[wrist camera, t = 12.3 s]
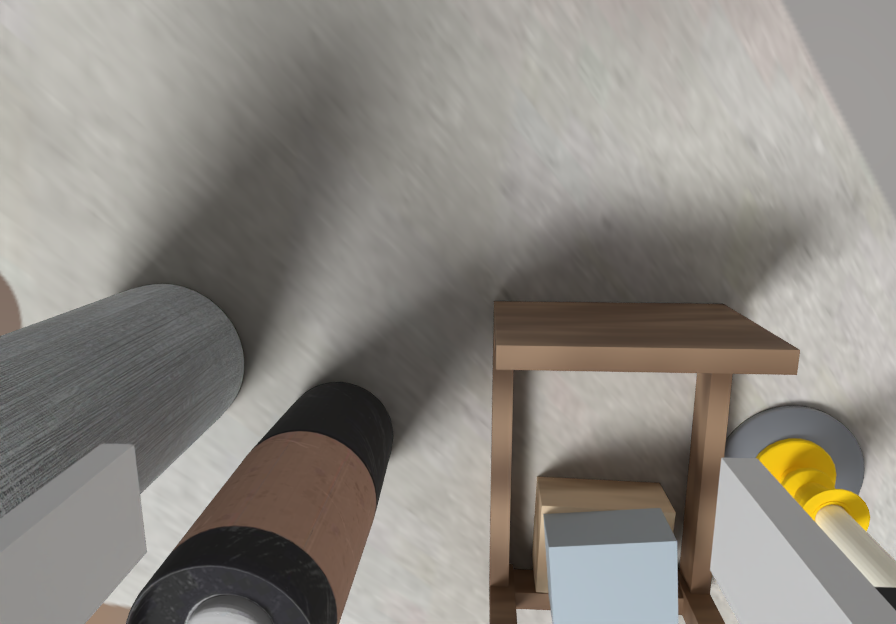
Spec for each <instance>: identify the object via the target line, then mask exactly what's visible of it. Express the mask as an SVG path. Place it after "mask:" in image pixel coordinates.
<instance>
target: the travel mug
mask: <svg viewBox="0 0 896 624" xmlns="http://www.w3.org/2000/svg"><path fill="white" fill-rule="evenodd" d="M392 442H393V429H392V424H391V420H390V417H389V415H388V413H387V411H386V409H385V408H384V406H383V405H382V404H381V402H380V401H379V400H378V399H377V398H376V397H375V396H374V395H372V394H371V393H370V392H368V391H367V390H365V389H363V388H361V387H358V386H356V385H353V384H349V383H341V382H334V383H327V384H322V385H319V386H316V387H314V388H312V389H310V390H309V391H307V392H306V393H305V394H303V395H302V396H301V397H300V398H299V399H298V400H297V401H296V402H295V403H294V404H293V405H292V406H291V407H290V408H289V409H288V410H287V412H286V413H285V414H284V415H283V416H282V417H281V418H280V419H279V420H278V421H277V423H276V424H275V425H274V426H273V427H272V428H271V429H270V430H269V431H268V433H267V434H266V435H265V436H264V437H263V438H262V439H261V440H260V441H259V442H258V444H257V445H256V446H255V447H254V448H253V449H252V450H251V452H250V453H249V454H248V455H247V456H246V458H245V459H244V460H243V461H242V463H241V464H240V465H239V467H238V468H237V469H236V470H235V472H234V473H233V474H232V475H231V477H230V478H229V479H228V481H227V482H226V483H225V484H224V486H223V487H222V488H221V490H220V491H219V492H218V493H217V495H216V496H215V497H214V499H213V500H212V501H211V502H210V504H209V505H208V506H207V507H206V509H205V510H204V511H203V513H202V514H201V515H200V516H199V518H198V519H197V520H196V522H195V523H194V524H193V525H192V527H191V528H190V529H189V531H188V532H187V533H186V534H185V536H184V537H183V538H182V539H181V541H180V542H179V543H178V545H177V546H176V547H175V548H174V550H173V551H172V552H171V554H170V555H169V556H168V557H167V559H166V560H165V561H164V562H163V564H162V565H161V566H160V568H159V569H158V570H157V571H156V573H155V574H154V575H153V577H152V578H151V579H150V580H149V582H148V583H147V584H146V585H145V587H144V588H143V589H142V591H141V592H140V593H139V595H138V596H137V598H136V600H135V602H134V604H133V605H132V607H131V610H130V612H129V616H128V619H127V622H126V624H339V622H340V619H341V616H342V613H343V610H344V607H345V604H346V601H347V598H348V595H349V592H350V589H351V586H352V583H353V580H354V577H355V574H356V571H357V568H358V565H359V562H360V559H361V556H362V553H363V550H364V547H365V544H366V541H367V538H368V535H369V532H370V529H371V526H372V523H373V519H374V516H375V512H376V509H377V505H378V501H379V497H380V493H381V489H382V485H383V481H384V477H385V473H386V469H387V465H388V461H389V457H390V453H391V449H392Z"/></svg>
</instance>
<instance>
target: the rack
mask: <svg viewBox="0 0 896 624" xmlns="http://www.w3.org/2000/svg"><path fill="white" fill-rule="evenodd" d="M799 354H800V350H799V349H797V348H796V347H794V346H793V345H791V344H789V343H788V342H786V341H784V340H783V339H781V338H779V337H778V336H776V335H774V334H773V333H771V332H769V331H768V330H766V329H764V328H763V327H761V326H759V325H758V324H756V323H754V322H753V321H751V320H749V319H748V318H746V317H744V316H743V315H741V314H739V313H738V312H736V311H734V310H733V309H731V308H729V307H728V306H726V305H725V304H693V303H607V302H521V301H494V324H493V386H492V448H491V511H490V573H489V605H490V624H517V615H516V609H536V610H551V608H550V601H549V594H548V593H542V592H536V588H535V580H534V571H533V570H524V569H513V564H509V541H510V498H511V456H512V414H513V371H514V370H551V371H609V372H666V373H697V380H696V391H695V402H694V413H693V424H692V436H691V447H690V458H689V469H688V480H687V491H686V502H685V513H684V524H683V535H682V546H681V557H680V568H679V570H678V615H682V616H683V618H684V620H685V622H686V624H725V622H724V621H723V619H722V617H721V615H720V613H719V611H718V609H717V607H716V605H715V603H714V601H713V599H712V597H711V595H710V588H711V578H712V573H711V571H710V565H711V555H712V545H713V536H714V526H715V516H716V506H717V496H718V486H719V476H720V466H721V458H724V452H725V443H726V433H727V423H728V413H729V404H730V394H731V384H732V375H733V374H781V375H797V370H798V362H799Z"/></svg>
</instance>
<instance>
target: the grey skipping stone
mask: <svg viewBox="0 0 896 624" xmlns="http://www.w3.org/2000/svg"><path fill="white" fill-rule="evenodd" d="M789 438H801V439H805V440H808V441H812V442H813V443H815V444H817V445H819V446H820V447H822V448H823V449H824V450H825V451H826V452H827V453H828V454H829V455H830V457H831V459H832V460H833V462H834V464H835V469H836V482H835V489H844V490H848V491H851V492H853V493H855V494H857V495H859V492H860V489H861V487H862V483H863V479H864V459H863V454H862V451H861V448H860V446H859V444H858V442H857V440H856V438H855V437H854V436H853V434H852V433H851V432H850V431H849V430H848V429H847V428H846V427H845V426H844V425H843V424H842V423H840V422H839V421H838V420H836V419H835V418H833V417H832V416H830V415H828V414H826V413H825V412H823V411H820V410H817V409H814V408H809V407H805V406H782V407H776V408H772V409H769V410H765V411H763V412H761V413H758V414H756V415H754V416H752V417H751V418H749V419H747V420H746V421H745V422H743V423H742V424H741V425H739V426H738V427H737V428H736V429H735V430H734V431H733V432H732V433H731V435H730V436H729V437H728V438H727V440H726V443H725V452H724V458H756V457H757V455H758V454H759V453H760V452H761V451H762V450H764V449H765V448H766V447H767V446H769V445H771V444H773V443H775V442H777V441H780V440H784V439H789Z"/></svg>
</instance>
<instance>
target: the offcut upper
mask: <svg viewBox="0 0 896 624" xmlns="http://www.w3.org/2000/svg"><path fill="white" fill-rule="evenodd" d="M543 517H544V532H545V548H546V563H547V578H548V594H549V601H550V608H551V615H552V622H553V624H678V566H677V540H676V538H675V536H674V534H673V532H672V530H671V528H670V526H669V524H668V522H667V520H666V518H665V516H664V514H663V512H662V510H661V508H649V509H630V510H611V511H592V512H573V513H554V514H543Z"/></svg>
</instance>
